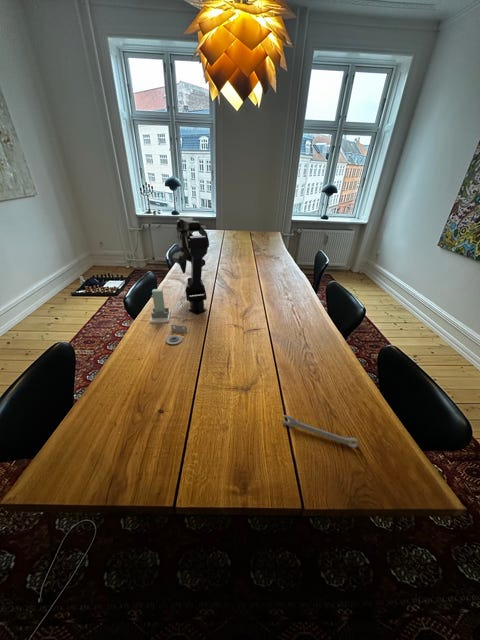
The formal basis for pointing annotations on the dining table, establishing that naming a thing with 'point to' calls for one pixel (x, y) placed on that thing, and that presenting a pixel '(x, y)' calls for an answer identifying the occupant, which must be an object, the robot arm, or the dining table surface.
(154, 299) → the cabinet door
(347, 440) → the combination wrench
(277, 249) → the dining table surface
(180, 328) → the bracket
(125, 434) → the dining table surface
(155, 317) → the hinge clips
